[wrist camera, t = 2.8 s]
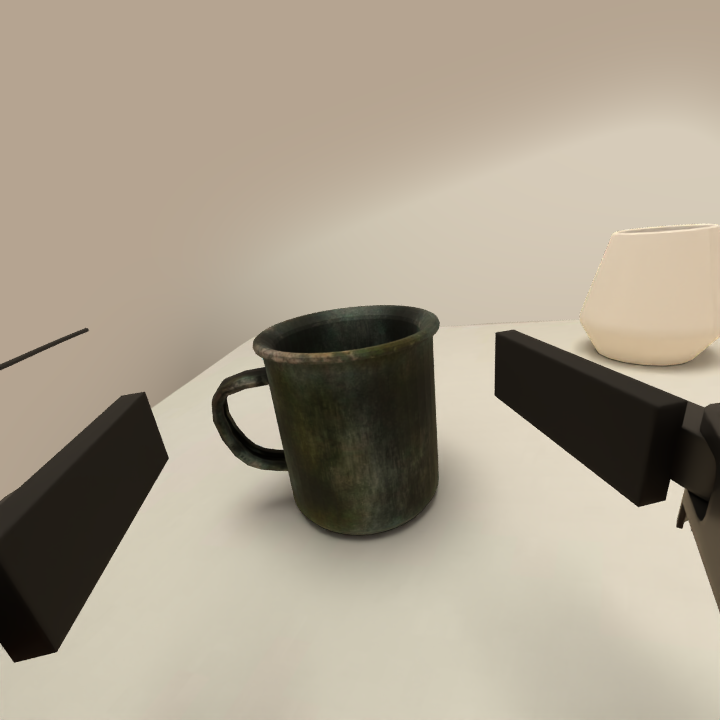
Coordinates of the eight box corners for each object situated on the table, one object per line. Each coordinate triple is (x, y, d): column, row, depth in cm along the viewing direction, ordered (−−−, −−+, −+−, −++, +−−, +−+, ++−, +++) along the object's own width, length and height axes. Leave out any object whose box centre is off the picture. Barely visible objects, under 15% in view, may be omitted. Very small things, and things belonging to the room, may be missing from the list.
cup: (635, 329, 50) (653, 224, 45) (755, 359, 37) (796, 217, 32) (552, 345, 47) (560, 236, 43) (649, 382, 35) (676, 234, 30)
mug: (473, 524, 21) (473, 333, 17) (226, 580, 19) (159, 383, 15) (417, 431, 31) (408, 297, 27) (251, 463, 30) (215, 326, 26)
